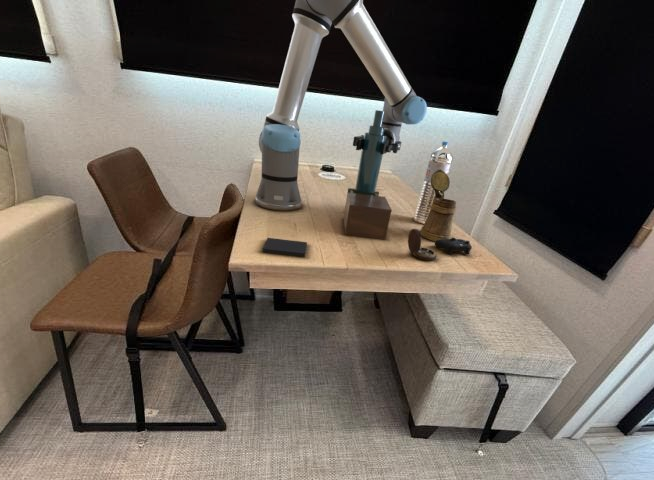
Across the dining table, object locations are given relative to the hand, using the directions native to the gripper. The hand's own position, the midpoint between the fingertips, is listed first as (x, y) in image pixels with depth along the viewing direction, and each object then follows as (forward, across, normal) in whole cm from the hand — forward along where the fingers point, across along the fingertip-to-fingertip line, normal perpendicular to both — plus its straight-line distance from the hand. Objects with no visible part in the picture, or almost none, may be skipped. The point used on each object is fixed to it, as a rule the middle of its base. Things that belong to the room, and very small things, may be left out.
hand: (370, 147), depth 93 cm
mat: (+32, +10, -22) cm, 40 cm away
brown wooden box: (+5, -3, -22) cm, 23 cm away
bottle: (-5, 0, -13) cm, 14 cm away
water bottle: (-16, -20, -22) cm, 34 cm away
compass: (+16, -21, -22) cm, 34 cm away
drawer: (-7, 0, -21) cm, 22 cm away
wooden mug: (-4, -24, -22) cm, 32 cm away
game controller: (+7, -30, -22) cm, 38 cm away
